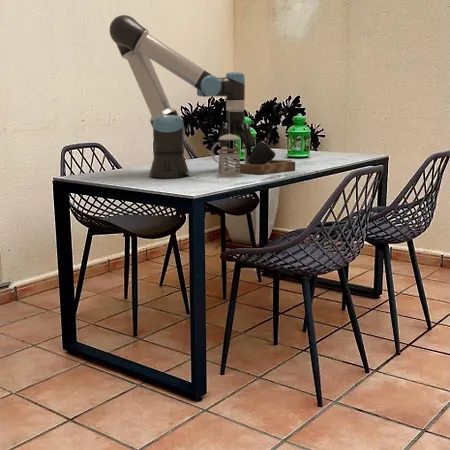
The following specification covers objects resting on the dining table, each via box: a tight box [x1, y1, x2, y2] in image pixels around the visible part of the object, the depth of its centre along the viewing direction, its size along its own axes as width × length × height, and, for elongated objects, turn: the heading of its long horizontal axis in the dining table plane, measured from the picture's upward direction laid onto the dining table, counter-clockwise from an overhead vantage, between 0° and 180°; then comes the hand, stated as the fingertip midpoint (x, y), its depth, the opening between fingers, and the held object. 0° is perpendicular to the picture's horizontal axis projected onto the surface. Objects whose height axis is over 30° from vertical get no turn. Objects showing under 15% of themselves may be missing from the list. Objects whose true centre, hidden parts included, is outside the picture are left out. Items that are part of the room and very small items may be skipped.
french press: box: [211, 107, 244, 178], centre depth 235 cm, size 10×12×25 cm
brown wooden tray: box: [234, 159, 296, 176], centre depth 250 cm, size 21×13×4 cm, turn 134°
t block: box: [266, 158, 293, 164], centre depth 269 cm, size 8×11×3 cm
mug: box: [247, 140, 276, 165], centre depth 258 cm, size 8×12×10 cm
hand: (235, 163), depth 264 cm, fingers open, 13 cm apart
